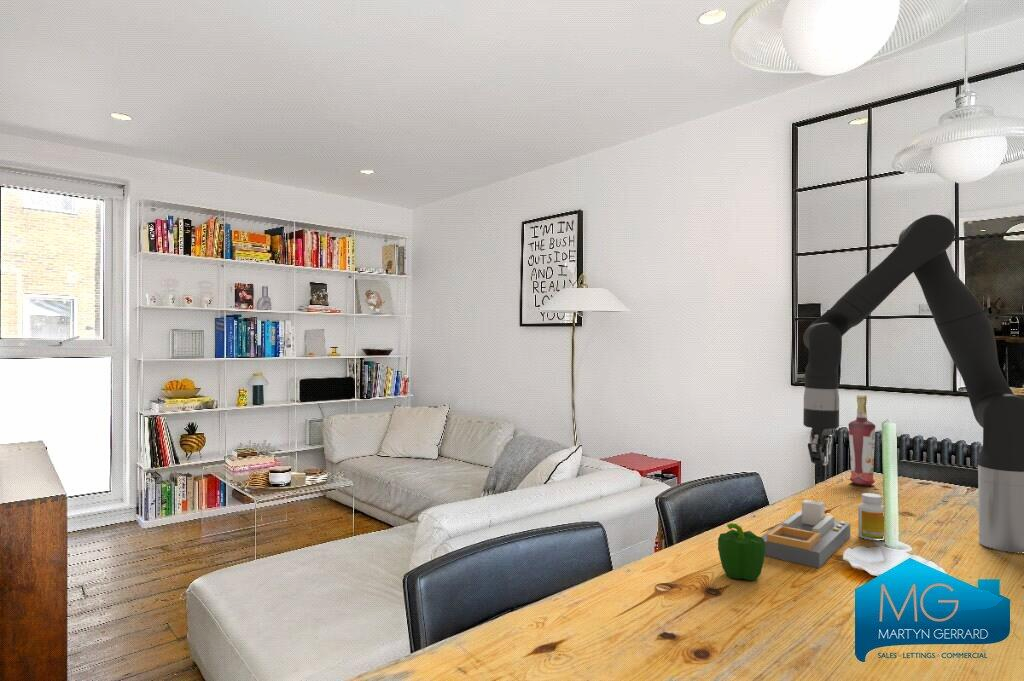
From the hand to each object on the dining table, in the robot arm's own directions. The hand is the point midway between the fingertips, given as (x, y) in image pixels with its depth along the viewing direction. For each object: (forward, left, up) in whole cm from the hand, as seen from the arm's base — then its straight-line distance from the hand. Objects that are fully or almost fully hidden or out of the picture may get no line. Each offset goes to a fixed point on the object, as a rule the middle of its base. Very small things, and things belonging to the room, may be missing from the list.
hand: (820, 480), depth 140 cm
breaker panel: (0, +13, -12) cm, 18 cm away
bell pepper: (+4, +40, -12) cm, 42 cm away
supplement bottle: (-10, -2, -12) cm, 16 cm away
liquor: (+3, -59, -12) cm, 60 cm away
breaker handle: (0, +7, -9) cm, 11 cm away
